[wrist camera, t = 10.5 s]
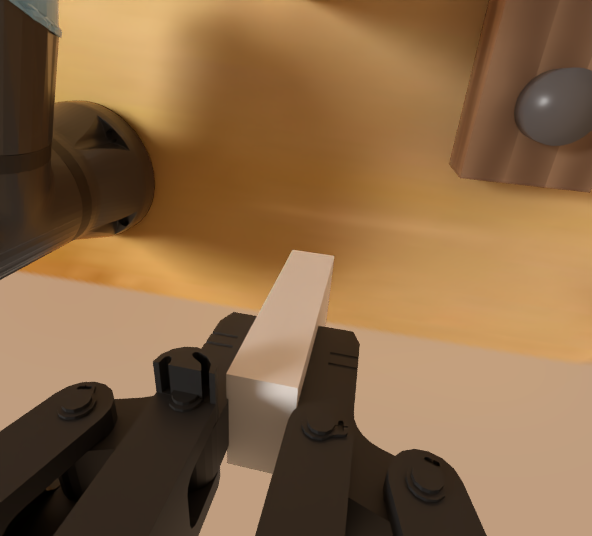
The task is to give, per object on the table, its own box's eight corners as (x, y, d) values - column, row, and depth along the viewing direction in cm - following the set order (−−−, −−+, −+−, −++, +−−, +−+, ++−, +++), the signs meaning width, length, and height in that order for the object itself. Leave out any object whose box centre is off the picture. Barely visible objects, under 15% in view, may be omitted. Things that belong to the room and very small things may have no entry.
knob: (491, 131, 34) (514, 142, 28) (509, 67, 32) (538, 64, 26) (552, 137, 33) (589, 149, 28) (575, 72, 31) (620, 70, 25)
